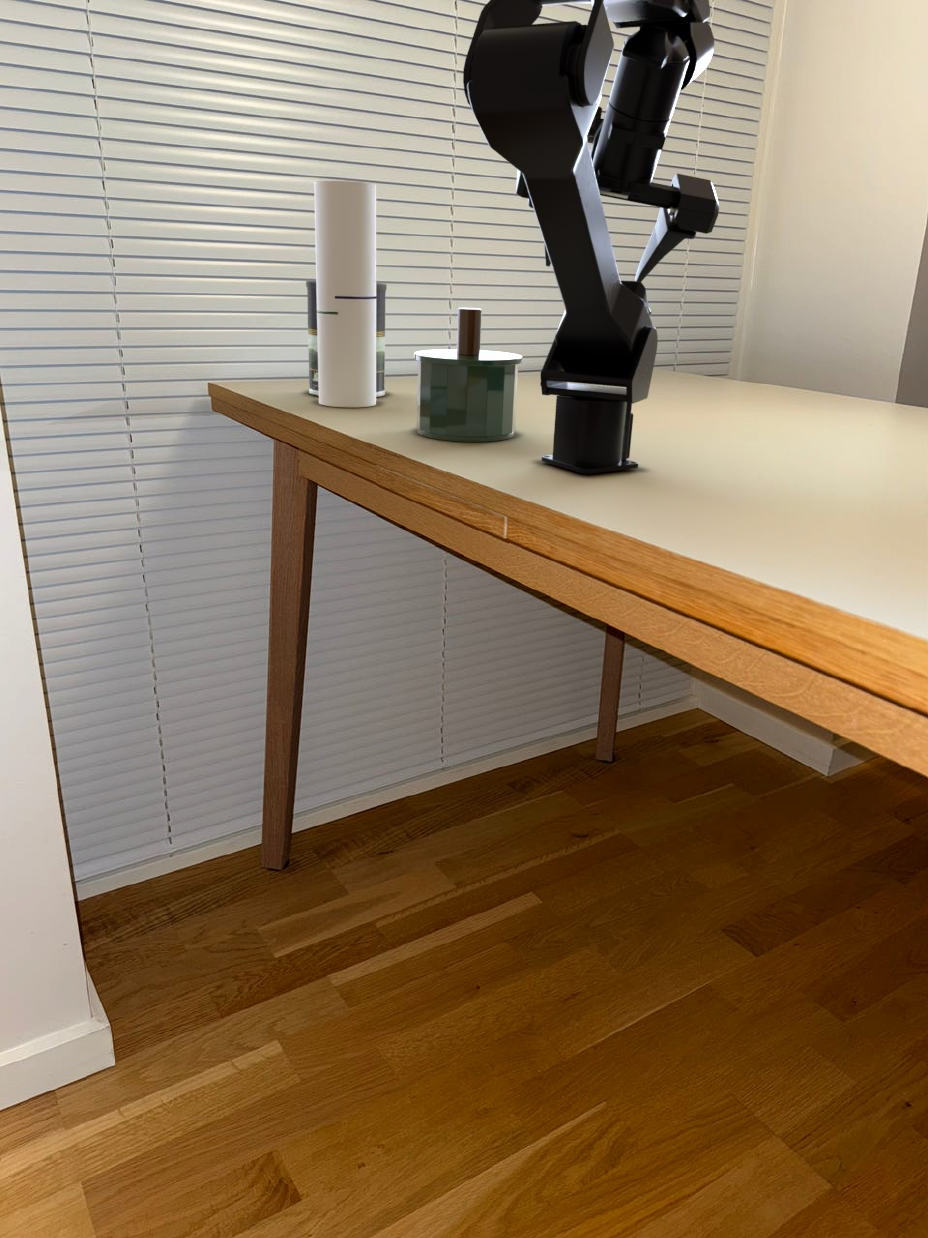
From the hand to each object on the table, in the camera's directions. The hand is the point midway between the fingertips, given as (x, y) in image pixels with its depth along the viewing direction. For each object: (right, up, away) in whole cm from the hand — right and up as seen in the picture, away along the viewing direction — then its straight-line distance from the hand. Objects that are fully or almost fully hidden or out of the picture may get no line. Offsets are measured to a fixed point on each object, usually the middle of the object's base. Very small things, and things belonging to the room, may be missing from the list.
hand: (592, 272), depth 93 cm
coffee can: (-28, -5, +32) cm, 43 cm away
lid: (-12, -8, +3) cm, 15 cm away
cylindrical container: (-27, -8, +23) cm, 37 cm away
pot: (-13, -15, +6) cm, 20 cm away
